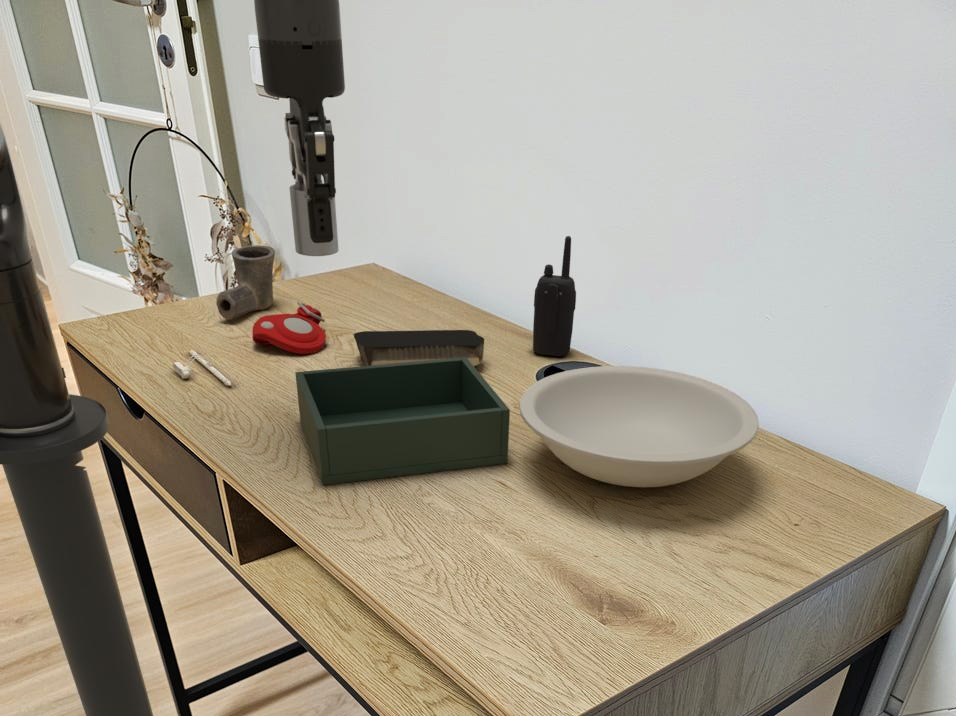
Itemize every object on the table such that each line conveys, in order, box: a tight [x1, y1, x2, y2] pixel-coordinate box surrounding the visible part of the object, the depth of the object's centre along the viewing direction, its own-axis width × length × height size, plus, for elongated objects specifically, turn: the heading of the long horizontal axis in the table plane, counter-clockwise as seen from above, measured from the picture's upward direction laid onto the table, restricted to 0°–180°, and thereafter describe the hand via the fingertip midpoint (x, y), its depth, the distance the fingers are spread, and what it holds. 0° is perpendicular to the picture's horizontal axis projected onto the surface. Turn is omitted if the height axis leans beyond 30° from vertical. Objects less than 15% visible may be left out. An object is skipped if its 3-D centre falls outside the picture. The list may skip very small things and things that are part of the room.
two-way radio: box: [532, 235, 577, 358], centre depth 116 cm, size 6×4×15 cm
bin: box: [295, 357, 511, 486], centre depth 95 cm, size 20×16×6 cm
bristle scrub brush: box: [353, 329, 485, 367], centre depth 115 cm, size 16×8×4 cm, turn 98°
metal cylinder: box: [289, 182, 339, 257], centre depth 90 cm, size 4×4×6 cm
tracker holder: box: [252, 300, 327, 355], centre depth 121 cm, size 12×4×10 cm
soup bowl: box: [518, 365, 760, 488], centre depth 91 cm, size 24×24×7 cm
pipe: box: [215, 244, 276, 320], centre depth 130 cm, size 6×13×8 cm, turn 162°
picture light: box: [172, 349, 232, 387], centre depth 111 cm, size 14×4×2 cm, turn 34°
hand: (317, 234), depth 91 cm, fingers closed on metal cylinder, 4 cm apart
